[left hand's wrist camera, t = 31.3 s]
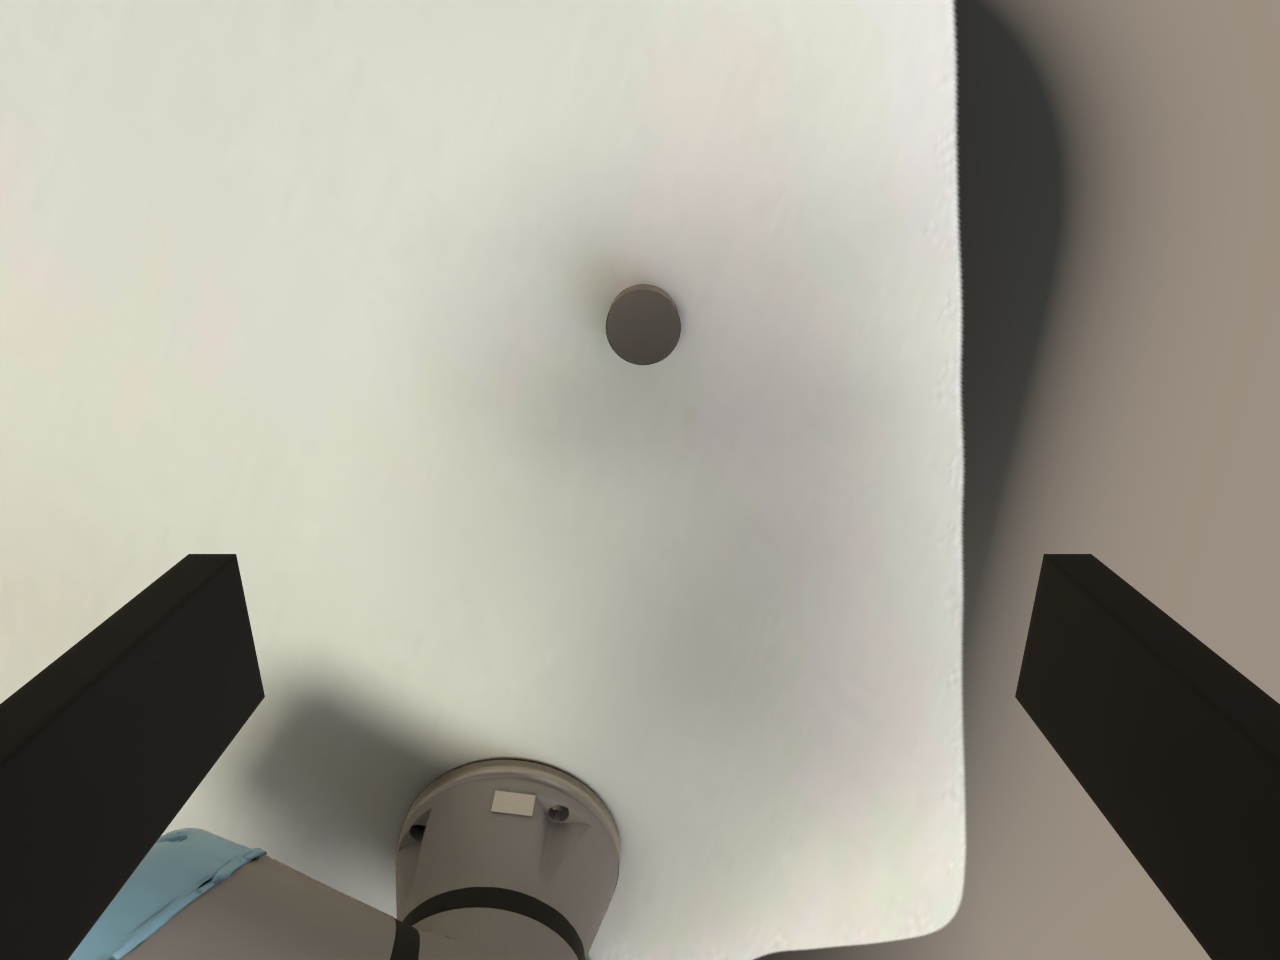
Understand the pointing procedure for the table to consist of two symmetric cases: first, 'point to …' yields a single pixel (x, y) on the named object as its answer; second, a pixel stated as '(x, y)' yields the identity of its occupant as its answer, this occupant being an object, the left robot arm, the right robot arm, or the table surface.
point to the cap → (643, 325)
